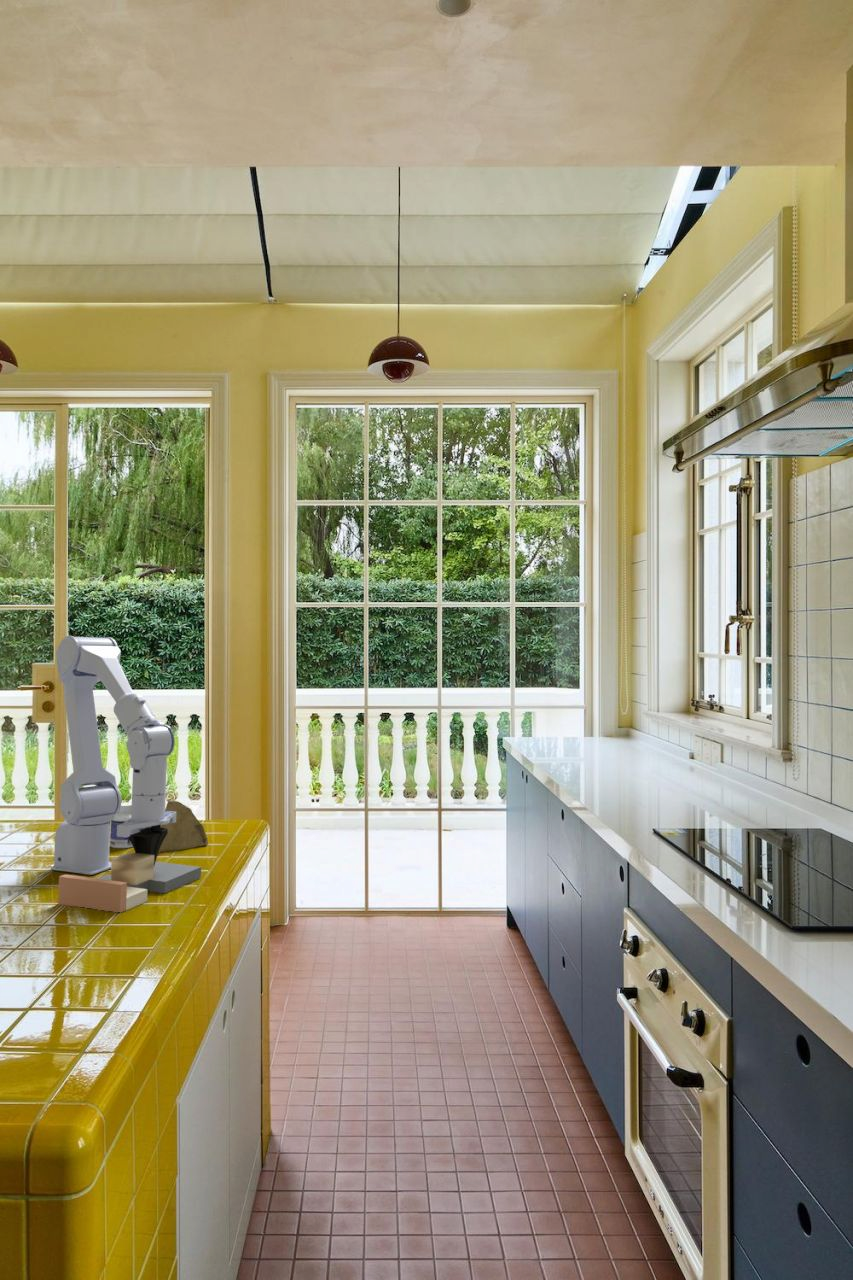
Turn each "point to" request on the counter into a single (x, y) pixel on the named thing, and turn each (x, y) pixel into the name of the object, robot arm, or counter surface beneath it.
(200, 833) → the rock
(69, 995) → the counter surface
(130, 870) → the maple block
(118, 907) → the plate
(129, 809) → the pill bottle
